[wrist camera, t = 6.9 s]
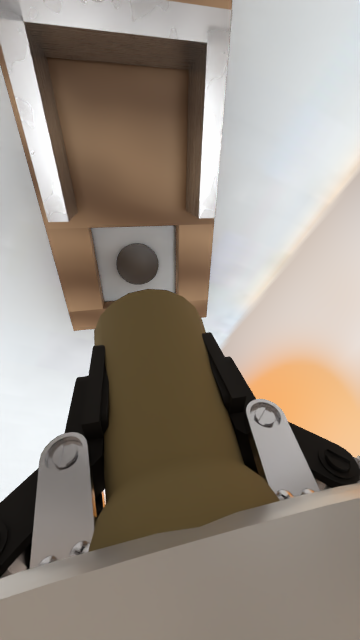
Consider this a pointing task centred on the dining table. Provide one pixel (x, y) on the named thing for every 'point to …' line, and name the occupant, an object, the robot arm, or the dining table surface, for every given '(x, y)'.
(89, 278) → the board
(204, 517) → the olive tapered rounded piece
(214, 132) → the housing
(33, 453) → the dining table surface
